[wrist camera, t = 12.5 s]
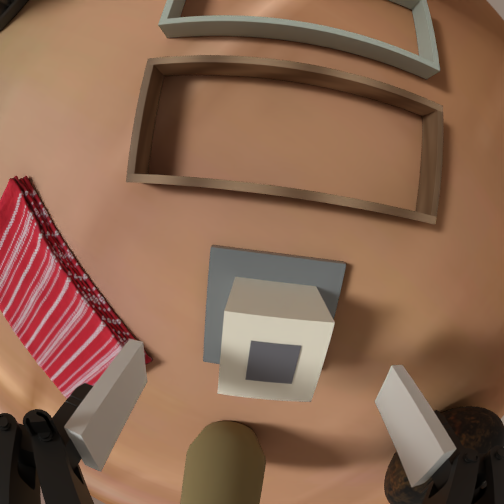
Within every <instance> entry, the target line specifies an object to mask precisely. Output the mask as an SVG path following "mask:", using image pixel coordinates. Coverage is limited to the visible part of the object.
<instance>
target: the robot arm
mask: <svg viewBox="0 0 504 504" xmlns="http://www.w3.org/2000/svg"><path fill="white" fill-rule="evenodd" d="M27 1H28V0H0V30H1V29H2V28H4V27H5V26H6V25H7V24H8V23H9V21H10V20H11V19H12V18H13V17H14V16H15V15H16V14H17V13H18V12H19V10H20V9H21V8H22V7H23V6H24V5H25V3H26V2H27ZM146 383H147V374H146V366H145V356H144V345H143V342H142V341H137V340H133V339H129V341H128V342H127V343H126V344H125V346H124V347H123V348H122V349H121V351H120V352H119V353H118V355H117V356H116V357H115V358H114V360H113V361H112V362H111V364H110V365H109V366H108V368H107V369H106V370H105V371H104V373H103V374H102V375H101V377H100V378H99V379H98V381H97V382H96V383H95V385H94V386H92V385H89V384H87V383H83V384H82V385H80V386H78V387H77V388H75V390H74V391H73V392H72V393H71V395H70V396H69V397H68V398H67V400H66V402H64V404H63V405H62V406H61V407H60V409H59V410H58V411H57V413H56V414H55V415H54V416H53V418H51V416H50V415H49V414H48V413H47V412H46V411H43V410H39V409H35V410H31V411H29V412H28V413H26V415H25V416H24V418H23V424H24V425H22V424H18V423H17V421H16V419H15V418H14V417H13V416H12V415H10V414H8V413H2V414H0V504H41V500H40V486H41V489H42V493H43V497H44V500H45V503H46V504H94V502H93V500H92V498H91V495H90V493H89V490H88V488H87V485H86V483H85V480H84V477H83V475H82V472H81V469H80V466H79V465H78V463H79V462H80V460H81V459H82V460H83V462H84V464H85V465H87V466H89V467H91V468H93V469H96V470H98V471H100V472H101V471H102V469H103V467H104V465H105V463H106V461H107V459H108V457H109V454H110V452H111V450H112V448H113V447H114V445H115V443H116V441H117V439H118V437H119V435H120V433H121V431H122V429H123V427H124V425H125V423H126V421H127V419H128V417H129V415H130V413H131V411H132V410H133V408H134V406H135V404H136V402H137V400H138V398H139V396H140V394H141V392H142V391H143V389H144V387H145V385H146ZM375 403H376V405H377V408H378V410H379V412H380V414H381V416H382V419H383V421H384V423H385V425H386V427H387V430H388V432H389V434H390V437H391V439H392V441H393V444H394V446H395V448H396V451H397V453H398V455H399V458H400V460H401V462H402V465H403V467H404V470H405V472H406V475H407V477H408V480H409V482H410V485H411V487H414V486H417V485H420V484H423V483H425V482H426V481H427V480H428V479H429V478H430V477H432V479H433V481H432V482H431V483H430V484H429V485H428V486H426V487H425V488H424V489H423V490H422V492H421V493H424V492H425V491H426V490H427V489H428V490H427V493H426V495H425V498H424V500H423V502H422V504H504V448H503V447H502V446H498V445H497V446H494V447H493V448H492V449H491V450H490V451H489V452H488V453H483V454H478V453H477V452H476V451H475V450H473V449H471V448H464V447H463V445H462V444H461V442H460V440H459V439H458V437H457V436H456V434H455V432H454V431H453V429H451V426H450V425H449V424H448V421H447V420H446V418H445V417H444V415H442V414H441V413H440V412H439V411H437V410H435V411H433V409H432V408H431V406H430V405H429V403H428V402H427V400H426V399H425V397H424V396H423V394H422V393H421V391H420V390H419V388H418V387H417V385H416V384H415V382H414V381H413V379H412V378H411V376H410V375H409V373H408V372H407V371H406V369H405V368H404V366H403V365H391V368H390V370H389V372H388V374H387V377H386V379H385V381H384V383H383V385H382V387H381V389H380V392H379V394H378V396H377V398H376V400H375ZM485 482H486V483H487V486H486V487H485V488H484V487H483V484H484V483H485Z"/></svg>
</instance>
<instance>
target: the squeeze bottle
mask: <svg viewBox="0 0 504 504" xmlns="http://www.w3.org/2000/svg"><path fill="white" fill-rule="evenodd" d="M265 465H266V460H265V455H264V453H263V450H262V448H261V446H260V444H259V441H258V439H257V437H256V434H255V433H254V432H253V431H252V429H250V428H249V427H247V426H245V425H243V424H240V423H236V422H233V421H219V422H214V423H211V424H209V425H208V426H206V427H205V428H204V429H203V431H202V432H201V433H200V434H199V435H198V437H197V438H196V439H195V440H194V441H193V443H192V444H191V445H190V447H189V449H188V451H187V455H186V463H185V470H184V478H183V486H182V494H181V503H180V504H259V503H260V497H261V491H262V485H263V478H264V472H265Z"/></svg>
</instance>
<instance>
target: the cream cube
mask: <svg viewBox="0 0 504 504" xmlns="http://www.w3.org/2000/svg"><path fill="white" fill-rule="evenodd" d="M334 324H335V322H334V320H333V318H332V316H331V314H330V312H329V310H328V308H327V306H326V304H325V302H324V301H323V299H322V297H321V295H320V293H319V291H318V289H317V287H316V286H310V285H301V284H292V283H283V282H275V281H267V280H258V279H250V278H243V277H235V279H234V282H233V286H232V289H231V292H230V295H229V298H228V301H227V304H226V307H225V310H224V320H223V331H222V343H221V356H220V368H219V382H218V394H224V395H231V396H239V397H247V398H257V399H268V400H281V401H299V402H311V400H312V397H313V394H314V391H315V388H316V385H317V382H318V379H319V376H320V373H321V370H322V366H323V363H324V360H325V356H326V353H327V350H328V346H329V343H330V339H331V335H332V332H333V328H334Z"/></svg>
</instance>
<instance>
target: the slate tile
mask: <svg viewBox="0 0 504 504" xmlns="http://www.w3.org/2000/svg"><path fill="white" fill-rule="evenodd" d="M345 268H346V263H345V262H343V261H336V260H328V259H321V258H313V257H305V256H297V255H289V254H281V253H274V252H266V251H258V250H250V249H242V248H234V247H226V246H218V245H212V246H211V250H210V262H209V274H208V287H207V302H206V317H205V335H204V355H203V361H204V362H210V363H216V364H220V356H221V343H222V331H223V320H224V310H225V307H226V304H227V301H228V298H229V295H230V292H231V289H232V286H233V282H234V279H235V277H243V278H250V279H258V280H267V281H275V282H283V283H292V284H301V285H310V286H316V287H317V289H318V291H319V293H320V295H321V297H322V299H323V301H324V302H325V304H326V306H327V308H328V310H329V312H330V314H331V316H332V318H333V320H334V316H335V312H336V308H337V304H338V300H339V296H340V291H341V287H342V282H343V277H344V273H345Z"/></svg>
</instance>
